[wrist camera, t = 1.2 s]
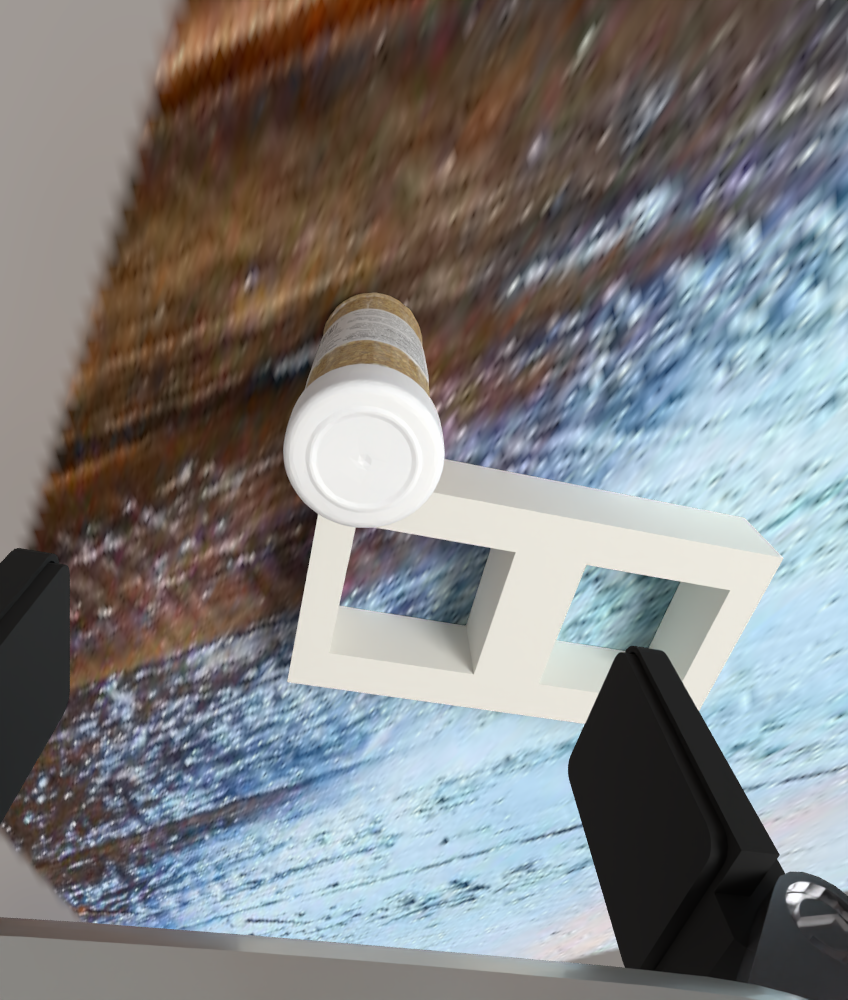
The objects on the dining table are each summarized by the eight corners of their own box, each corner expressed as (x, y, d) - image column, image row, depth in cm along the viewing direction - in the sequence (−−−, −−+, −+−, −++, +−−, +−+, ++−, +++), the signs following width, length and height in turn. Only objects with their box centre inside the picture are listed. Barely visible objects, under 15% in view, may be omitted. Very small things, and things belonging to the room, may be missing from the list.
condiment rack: (332, 437, 33) (325, 472, 29) (744, 517, 36) (783, 557, 32) (296, 632, 38) (287, 682, 34) (658, 687, 41) (684, 737, 38)
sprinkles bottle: (379, 408, 32) (375, 561, 20) (301, 346, 31) (247, 472, 19) (444, 335, 31) (480, 453, 19) (365, 266, 29) (350, 347, 17)
